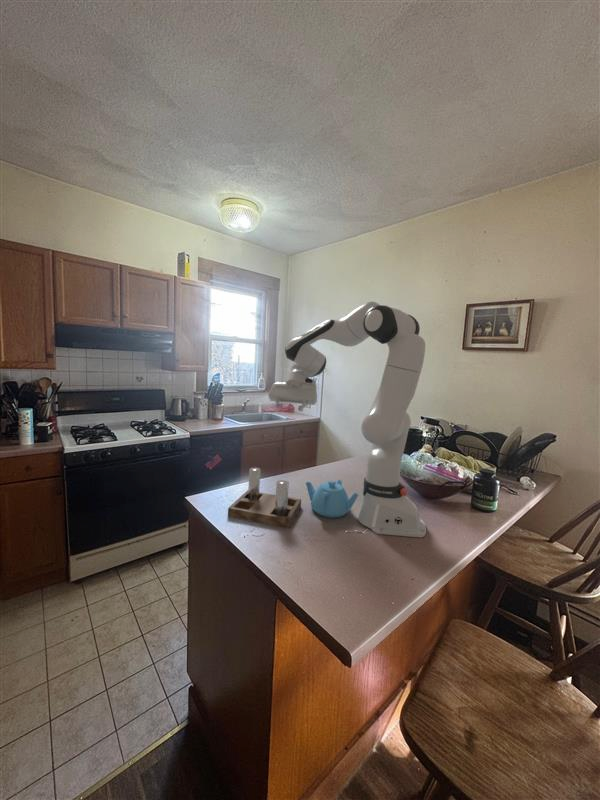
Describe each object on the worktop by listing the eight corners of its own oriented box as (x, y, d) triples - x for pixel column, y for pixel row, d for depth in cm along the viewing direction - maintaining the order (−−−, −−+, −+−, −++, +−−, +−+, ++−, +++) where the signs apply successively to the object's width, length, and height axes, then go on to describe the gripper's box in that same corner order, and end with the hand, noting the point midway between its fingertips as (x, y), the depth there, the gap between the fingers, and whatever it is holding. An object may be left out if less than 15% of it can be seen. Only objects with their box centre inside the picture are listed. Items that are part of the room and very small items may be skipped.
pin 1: (260, 502, 118) (262, 468, 117) (256, 507, 114) (258, 472, 113) (250, 500, 119) (251, 467, 118) (245, 505, 115) (247, 470, 114)
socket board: (300, 507, 117) (301, 499, 116) (288, 528, 101) (289, 519, 101) (247, 497, 122) (247, 490, 121) (227, 516, 106) (228, 508, 106)
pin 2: (287, 518, 108) (290, 481, 106) (284, 524, 104) (286, 485, 102) (276, 516, 109) (278, 479, 107) (272, 522, 105) (274, 483, 103)
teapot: (303, 502, 121) (304, 475, 120) (339, 499, 126) (341, 473, 125) (317, 522, 107) (319, 491, 106) (357, 518, 111) (360, 488, 110)
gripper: (271, 377, 137) (262, 402, 128) (318, 380, 132) (312, 406, 124) (274, 386, 142) (265, 411, 133) (320, 390, 137) (313, 416, 128)
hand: (288, 409), depth 128 cm, fingers open, 8 cm apart
